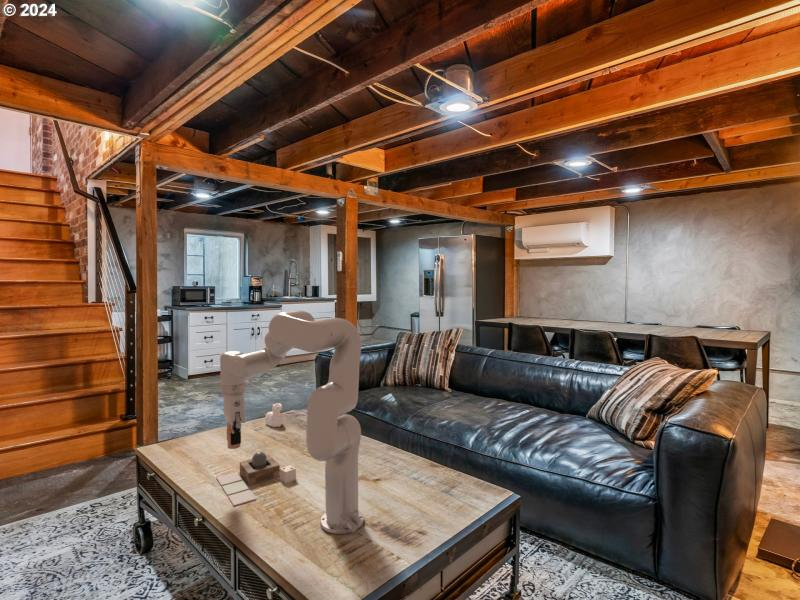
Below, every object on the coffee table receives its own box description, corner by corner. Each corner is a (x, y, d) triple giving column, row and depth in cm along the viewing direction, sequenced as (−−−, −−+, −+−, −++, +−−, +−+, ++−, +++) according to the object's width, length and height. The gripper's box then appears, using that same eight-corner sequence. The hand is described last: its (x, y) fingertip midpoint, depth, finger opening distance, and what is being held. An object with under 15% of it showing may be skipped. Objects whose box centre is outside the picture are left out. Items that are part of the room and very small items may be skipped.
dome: (268, 469, 157) (268, 452, 157) (254, 472, 154) (254, 456, 154) (264, 464, 161) (263, 448, 161) (250, 467, 158) (250, 451, 158)
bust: (284, 431, 207) (295, 409, 212) (274, 425, 201) (285, 403, 207) (267, 426, 213) (278, 405, 218) (257, 421, 208) (268, 399, 213)
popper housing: (279, 476, 157) (279, 465, 156) (248, 484, 150) (248, 473, 150) (269, 465, 166) (269, 454, 165) (239, 472, 159) (239, 462, 159)
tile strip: (256, 499, 140) (256, 498, 140) (234, 506, 136) (234, 505, 136) (236, 473, 159) (236, 472, 159) (216, 478, 155) (216, 477, 155)
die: (295, 479, 154) (295, 468, 154) (286, 483, 151) (285, 471, 151) (289, 475, 157) (289, 464, 157) (280, 479, 154) (279, 468, 154)
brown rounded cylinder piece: (241, 447, 146) (241, 419, 146) (229, 449, 144) (228, 421, 143) (238, 443, 150) (237, 416, 149) (226, 445, 147) (225, 418, 147)
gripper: (251, 392, 141) (252, 447, 142) (237, 381, 154) (238, 432, 156) (227, 396, 137) (228, 453, 138) (215, 384, 150) (216, 436, 151)
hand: (233, 441), depth 147 cm, fingers closed on brown rounded cylinder piece, 4 cm apart
